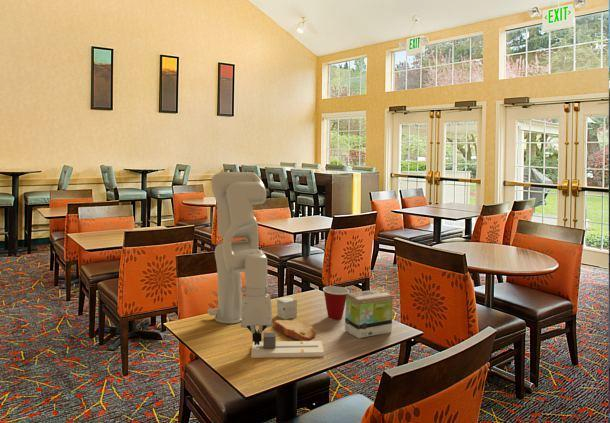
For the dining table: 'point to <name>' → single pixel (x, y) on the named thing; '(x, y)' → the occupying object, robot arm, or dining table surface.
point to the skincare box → (287, 308)
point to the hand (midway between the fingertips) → (257, 343)
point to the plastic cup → (335, 301)
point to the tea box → (368, 313)
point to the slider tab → (269, 340)
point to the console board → (289, 349)
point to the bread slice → (295, 329)
